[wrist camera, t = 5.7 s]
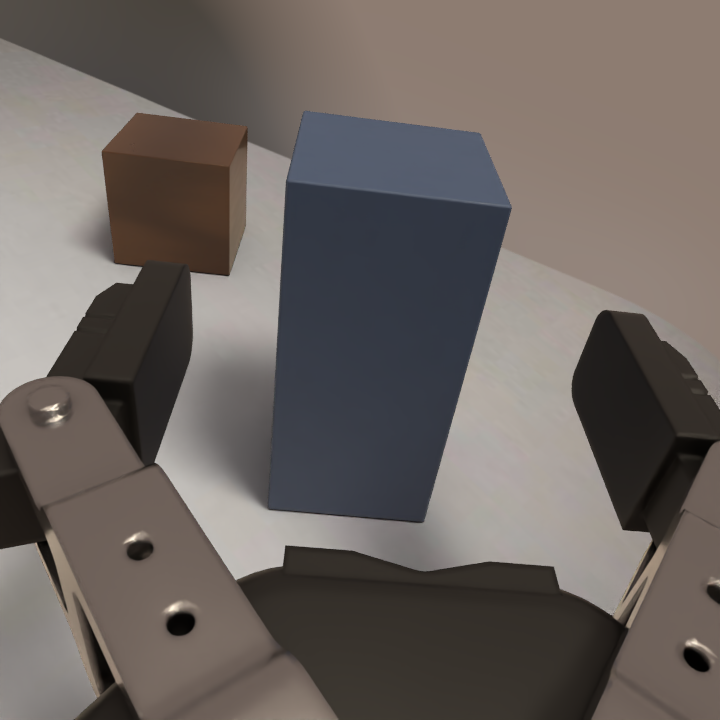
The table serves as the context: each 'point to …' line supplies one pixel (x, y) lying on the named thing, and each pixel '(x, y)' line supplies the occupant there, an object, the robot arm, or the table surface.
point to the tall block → (377, 310)
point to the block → (177, 192)
